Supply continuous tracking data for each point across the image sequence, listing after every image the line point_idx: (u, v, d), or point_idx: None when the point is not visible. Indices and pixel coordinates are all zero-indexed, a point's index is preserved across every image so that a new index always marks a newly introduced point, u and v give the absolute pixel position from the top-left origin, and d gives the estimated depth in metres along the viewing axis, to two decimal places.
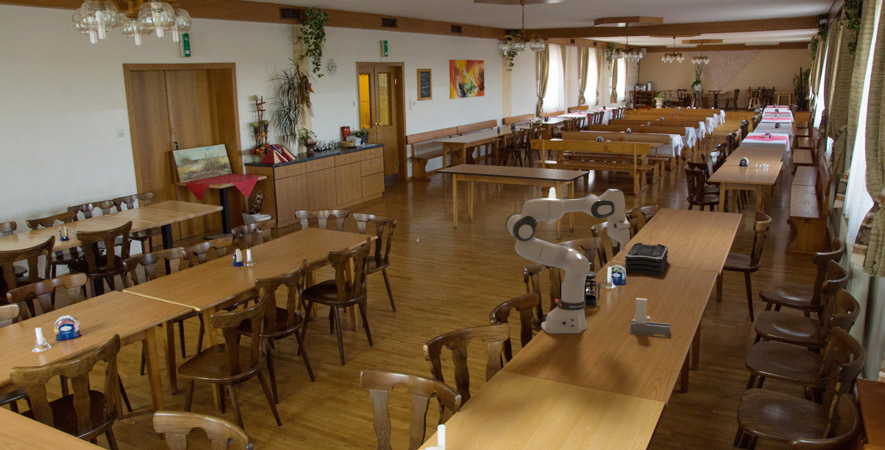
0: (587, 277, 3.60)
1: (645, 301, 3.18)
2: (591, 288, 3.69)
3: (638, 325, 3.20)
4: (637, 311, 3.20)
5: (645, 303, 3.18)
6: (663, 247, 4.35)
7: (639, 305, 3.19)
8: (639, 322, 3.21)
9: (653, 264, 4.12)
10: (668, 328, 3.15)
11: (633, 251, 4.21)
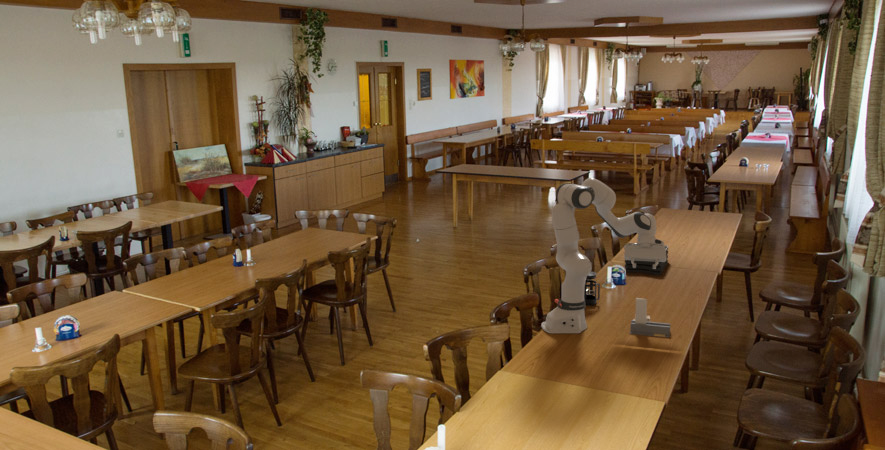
0: (587, 277, 3.60)
1: (645, 301, 3.18)
2: (591, 288, 3.69)
3: (638, 325, 3.20)
4: (637, 311, 3.20)
5: (645, 303, 3.18)
6: None
7: (639, 305, 3.19)
8: (639, 322, 3.21)
9: None
10: (668, 328, 3.15)
11: None
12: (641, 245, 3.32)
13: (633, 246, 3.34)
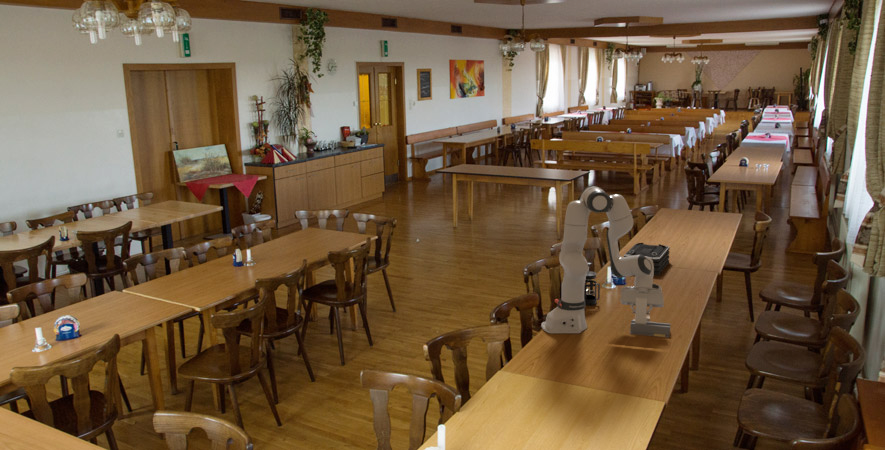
0: (587, 277, 3.60)
1: (645, 301, 3.18)
2: (591, 288, 3.69)
3: (638, 325, 3.20)
4: (637, 311, 3.20)
5: (645, 303, 3.18)
6: (664, 247, 4.34)
7: (639, 305, 3.19)
8: (639, 322, 3.21)
9: None
10: (668, 328, 3.15)
11: (632, 251, 4.22)
12: (638, 289, 3.25)
13: (630, 290, 3.26)
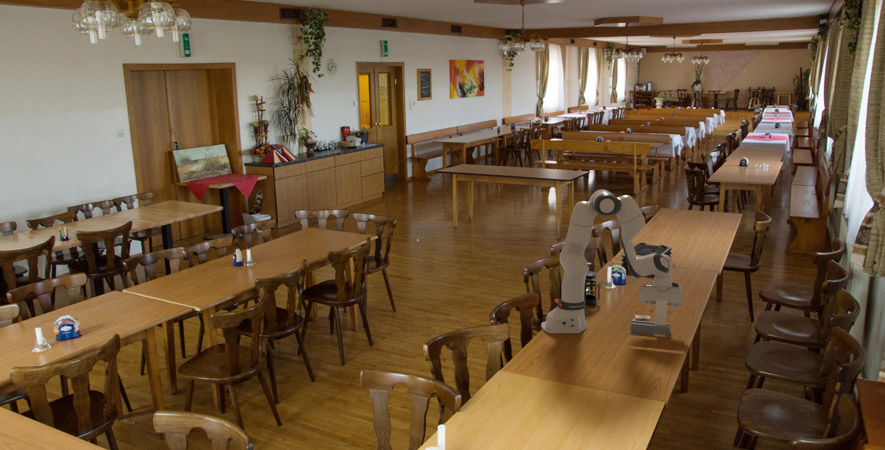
0: (587, 277, 3.60)
1: (665, 303, 3.15)
2: (591, 288, 3.69)
3: (638, 325, 3.20)
4: (657, 313, 3.17)
5: (665, 305, 3.15)
6: (666, 248, 4.33)
7: (659, 307, 3.16)
8: (659, 324, 3.18)
9: None
10: (668, 328, 3.15)
11: None
12: (657, 288, 3.21)
13: (649, 289, 3.23)
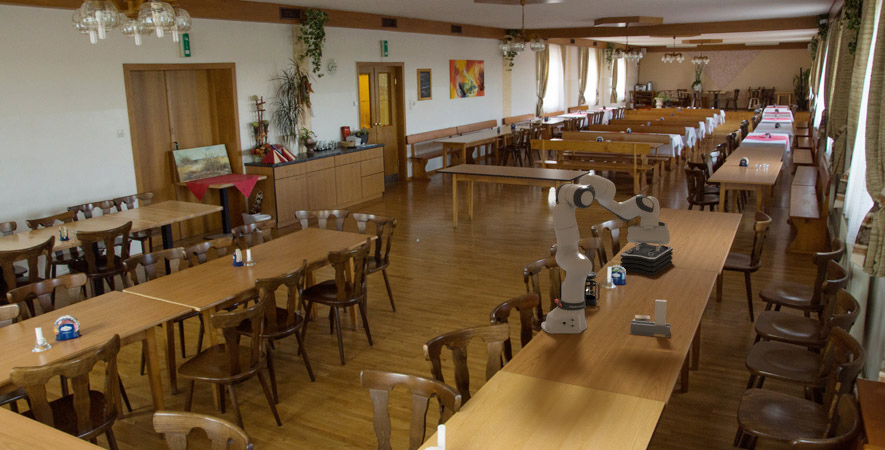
0: (587, 277, 3.60)
1: (665, 303, 3.15)
2: (591, 288, 3.69)
3: (638, 325, 3.20)
4: (656, 313, 3.17)
5: (665, 305, 3.15)
6: (666, 248, 4.32)
7: (658, 307, 3.16)
8: (658, 324, 3.18)
9: (646, 264, 4.13)
10: (668, 328, 3.15)
11: (630, 250, 4.24)
12: (644, 227, 3.33)
13: (636, 228, 3.35)
